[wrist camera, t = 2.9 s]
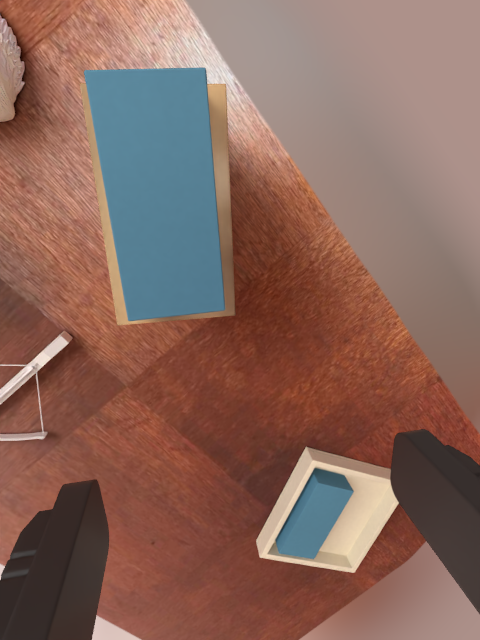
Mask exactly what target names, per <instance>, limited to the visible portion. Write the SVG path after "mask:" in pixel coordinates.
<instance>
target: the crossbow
mask: <svg viewBox="0 0 480 640" xmlns="http://www.w3.org/2000/svg"><path fill="white" fill-rule="evenodd" d="M72 338H73V337H72V336H70V335H69V334H68V333H67V332H66V331H63V332H62V333H61V334H60V335H59V336H58V337H57V338H56V339H55V340H54V341H53V342H51V343H50V344H49V345H48V346H47V347H46V348H45V349H44V350H43V351H42V352H41V353H39V354H38V355H37V356H36V357H35V358H34V359H33V360H32V361H31V362H30V363H29V364H28V365H2V364H0V366H25V367H24V368H23V369H22V370H21V371H20V372H19V373H18V374H17V375H16V376H14V377H13V378H12V379H11V380H10V381H9V382H8V383H7V384H6V385H4V386H3V387H2V388H1V389H0V404H2V403H3V402H4V401H5V400H6V399H7V398H8V397H9V396H11V395H12V394H13V393H14V392H15V391H16V390H17V389H18V388H19V387H21V386H22V385H23V384H24V383H25V382H26V381H27V380H28V379H29V378H31V377H32V376H33V375H34V374H35V373H36V379H37V388H38V396H39V405H40V414H41V423H42V432H37V433H28V434H0V441H18V440H29V439H38V438H39V439H43V438H45V437H46V435H47V433H48V432H44V431H43V422H42V413H41V404H40V395H39V386H38V377H37V371H38V370H40V369H41V368H42V367H43V366H44V365H45V364H46V363H47V362H48V361H49V360H50V359H51V358H52V357H54V356H55V355H56V354H57V353H58V352H59V351H60V350H61V349H63V348H64V347H65V346H66V345H67V344H68V343H69V342H70V341H71V340H72Z"/></svg>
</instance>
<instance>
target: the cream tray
mask: <svg viewBox="0 0 480 640" xmlns="http://www.w3.org/2000/svg"><path fill="white" fill-rule="evenodd" d="M314 468H318V469H322V470H326V471H330V472H334V473H338V474H342V475H345V477H346V479H347V480H348V482H349V484H350V486H351V487H352V489H353V491H354V492H353V494H352V496H351V498H350V499H349V501H348V503H347V504H346V506H345V508H344V509H343V511H342V513H341V514H340V516H339V518H338V520H337V521H336V523H335V525H334V526H333V528H332V530H331V531H330V533H329V535H328V536H327V538H326V540H325V541H324V543H323V545H322V547H321V548H320V550H319V552H318V553H317V555H316V557H315V558H314V559H309V558H303V557H297V556H291V555H285V554H279V552H278V548H277V545H276V541H275V539H276V537H277V535H278V534H279V532H280V530H281V528H282V526H283V525H284V523H285V521H286V519H287V517H288V515H289V514H290V512H291V510H292V508H293V506H294V504H295V503H296V501H297V499H298V497H299V495H300V493H301V492H302V490H303V488H304V486H305V484H306V482H307V481H308V479H309V477H310V475H311V473H312V472H313V470H314ZM390 474H391V469H388V468H384V467H380V466H376V465H373V464H369V463H365V462H361V461H357V460H354V459H350V458H346V457H342V456H338V455H335V454H331V453H327V452H323V451H320V450H316V449H312V448H308V447H306V448H305V450H304V452H303V453H302V455H301V457H300V459H299V461H298V463H297V465H296V467H295V468H294V470H293V472H292V474H291V476H290V478H289V480H288V482H287V484H286V485H285V487H284V489H283V491H282V493H281V495H280V497H279V499H278V500H277V502H276V504H275V506H274V508H273V510H272V512H271V514H270V516H269V517H268V519H267V521H266V523H265V525H264V527H263V529H262V531H261V532H260V534H259V536H258V538H257V540H256V543H257V547H258V551H259V556H260V558H266V559H272V560H278V561H284V562H290V563H297V564H303V565H309V566H315V567H321V568H327V569H334V570H340V571H346V572H352V573H354V572H355V571H356V569H357V568H358V566H359V565H360V563H361V561H362V560H363V558H364V557H365V555H366V554H367V552H368V550H369V549H370V547H371V546H372V544H373V543H374V541H375V539H376V538H377V536H378V535H379V533H380V532H381V530H382V528H383V527H384V525H385V524H386V522H387V521H388V519H389V517H390V516H391V514H392V513H393V511H394V510H395V508H396V506H397V505H398V503H399V502H398V501H397V499H396V497H395V495H394V493H393V490H392V487H391V481H390Z"/></svg>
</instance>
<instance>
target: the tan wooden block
mask: <svg viewBox="0 0 480 640" xmlns="http://www.w3.org/2000/svg"><path fill="white" fill-rule="evenodd" d="M207 88H208V100H209V113H210V125H211V137H212V150H213V162H214V174H215V187H216V199H217V212H218V224H219V236H220V249H221V261H222V273H223V286H224V298H225V310H224V311H217V312H208V313H199V314H190V315H181V316H172V317H163V318H154V319H146V320H137V321H128V318H127V312H126V307H125V301H124V295H123V290H122V284H121V278H120V273H119V267H118V261H117V256H116V250H115V245H114V239H113V233H112V228H111V222H110V216H109V211H108V205H107V199H106V194H105V188H104V183H103V177H102V171H101V166H100V160H99V154H98V149H97V143H96V137H95V132H94V126H93V120H92V115H91V109H90V104H89V98H88V92H87V87H86V83H80V89H81V96H82V102H83V108H84V115H85V121H86V128H87V134H88V141H89V147H90V153H91V160H92V166H93V173H94V179H95V185H96V192H97V198H98V205H99V211H100V217H101V224H102V230H103V237H104V243H105V250H106V256H107V262H108V269H109V275H110V282H111V288H112V294H113V301H114V307H115V314H116V320H117V325H128V324H140V323H152V322H164V321H175V320H187V319H199V318H210V317H222V316H234V315H235V293H234V269H233V244H232V220H231V196H230V171H229V147H228V122H227V98H226V84H207Z"/></svg>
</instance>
